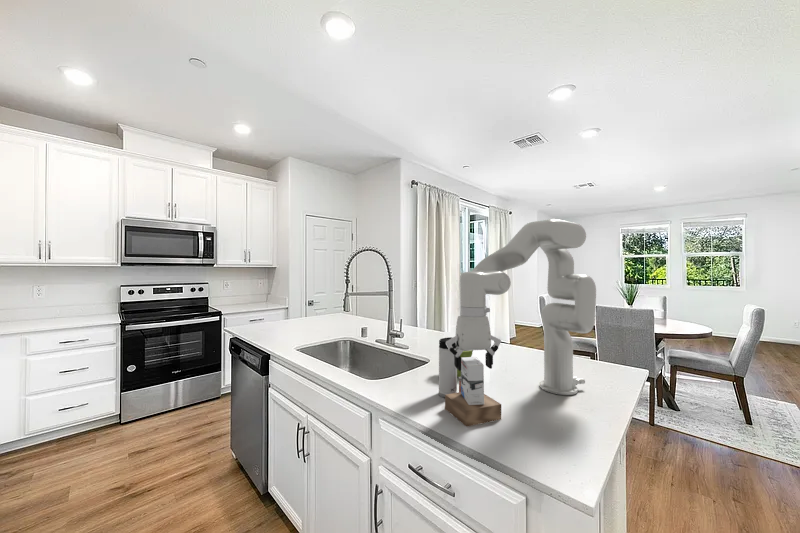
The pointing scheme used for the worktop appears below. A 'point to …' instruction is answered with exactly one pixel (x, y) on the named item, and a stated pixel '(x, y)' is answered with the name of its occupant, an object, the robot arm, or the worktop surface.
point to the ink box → (472, 380)
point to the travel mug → (447, 369)
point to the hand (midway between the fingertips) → (473, 368)
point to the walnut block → (472, 410)
